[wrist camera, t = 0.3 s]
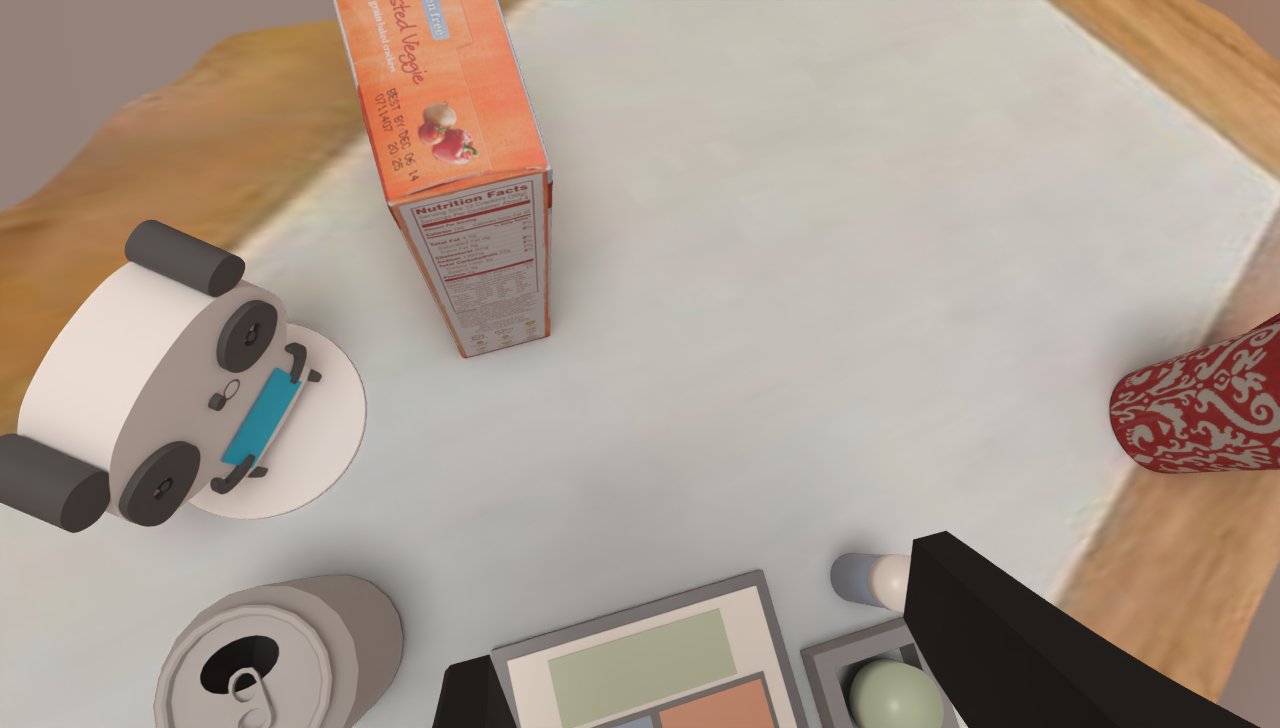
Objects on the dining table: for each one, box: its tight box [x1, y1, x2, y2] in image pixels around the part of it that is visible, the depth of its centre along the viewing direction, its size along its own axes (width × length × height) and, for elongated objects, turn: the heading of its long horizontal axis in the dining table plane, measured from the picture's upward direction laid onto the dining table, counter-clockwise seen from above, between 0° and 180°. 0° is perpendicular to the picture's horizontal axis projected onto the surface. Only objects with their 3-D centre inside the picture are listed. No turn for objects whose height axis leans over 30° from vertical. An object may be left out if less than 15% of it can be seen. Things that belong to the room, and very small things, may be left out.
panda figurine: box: [0, 220, 367, 533], centre depth 32 cm, size 12×11×15 cm
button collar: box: [800, 617, 959, 728], centre depth 39 cm, size 7×7×2 cm
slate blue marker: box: [831, 554, 911, 613], centre depth 39 cm, size 3×3×6 cm
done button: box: [850, 659, 944, 728], centre depth 38 cm, size 4×4×2 cm
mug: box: [1110, 313, 1280, 473], centre depth 41 cm, size 13×9×14 cm
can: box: [153, 575, 403, 728], centre depth 31 cm, size 8×8×12 cm
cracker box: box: [332, 0, 553, 358], centre depth 34 cm, size 14×6×21 cm, turn 18°
